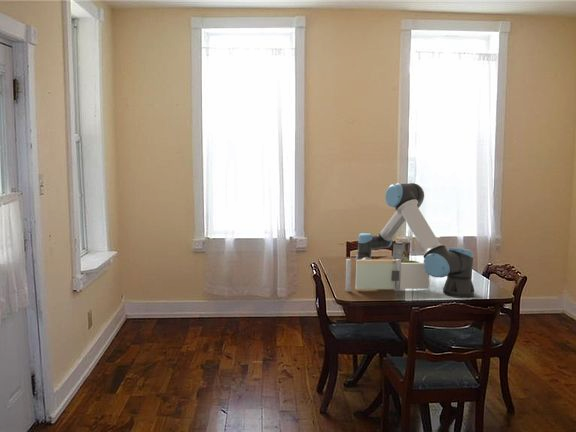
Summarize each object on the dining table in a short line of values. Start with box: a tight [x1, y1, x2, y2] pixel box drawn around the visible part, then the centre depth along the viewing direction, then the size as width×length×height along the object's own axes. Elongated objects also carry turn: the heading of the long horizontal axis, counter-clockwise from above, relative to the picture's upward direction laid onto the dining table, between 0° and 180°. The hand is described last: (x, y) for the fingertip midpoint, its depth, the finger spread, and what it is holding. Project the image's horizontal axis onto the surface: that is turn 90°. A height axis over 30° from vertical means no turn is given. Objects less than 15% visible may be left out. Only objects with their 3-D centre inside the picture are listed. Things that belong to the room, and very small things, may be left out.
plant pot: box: [402, 259, 420, 263], centre depth 319 cm, size 9×9×9 cm
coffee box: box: [392, 240, 411, 263], centre depth 338 cm, size 9×6×16 cm
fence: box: [344, 258, 430, 292], centre depth 289 cm, size 3×43×16 cm, turn 97°
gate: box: [354, 259, 396, 290], centre depth 288 cm, size 20×2×15 cm, turn 96°
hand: (380, 276), depth 290 cm, fingers closed, pressing on gate
